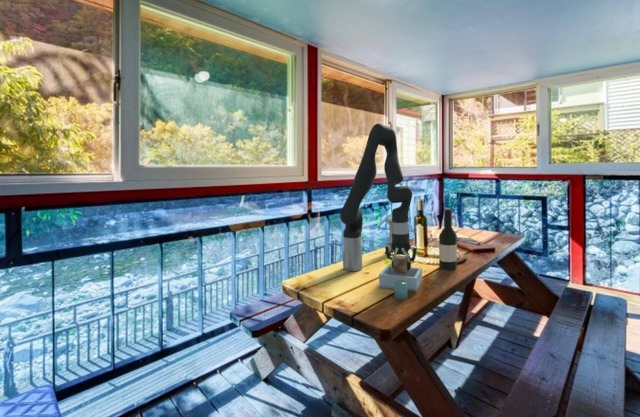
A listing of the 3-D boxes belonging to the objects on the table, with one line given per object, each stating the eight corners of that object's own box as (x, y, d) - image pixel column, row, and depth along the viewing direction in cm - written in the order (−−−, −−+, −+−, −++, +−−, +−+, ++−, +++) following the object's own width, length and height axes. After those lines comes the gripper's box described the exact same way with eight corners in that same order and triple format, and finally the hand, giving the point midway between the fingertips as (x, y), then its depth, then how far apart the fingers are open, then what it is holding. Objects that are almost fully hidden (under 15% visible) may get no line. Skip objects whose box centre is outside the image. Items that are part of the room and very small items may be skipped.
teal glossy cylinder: (393, 298, 136) (393, 284, 135) (396, 293, 140) (396, 280, 139) (406, 300, 134) (405, 285, 133) (408, 295, 138) (408, 281, 137)
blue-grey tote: (379, 287, 148) (379, 274, 147) (387, 277, 160) (387, 265, 160) (416, 292, 141) (416, 278, 140) (422, 281, 153) (422, 268, 153)
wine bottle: (458, 270, 165) (458, 209, 161) (440, 270, 167) (440, 210, 163) (455, 265, 173) (455, 207, 169) (438, 265, 175) (437, 207, 171)
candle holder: (388, 255, 197) (387, 221, 195) (382, 252, 206) (381, 219, 203) (402, 254, 199) (401, 220, 196) (396, 250, 207) (395, 218, 205)
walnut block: (393, 273, 148) (393, 259, 147) (396, 268, 154) (396, 255, 154) (406, 274, 146) (405, 260, 145) (409, 269, 152) (408, 256, 151)
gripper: (382, 233, 148) (383, 270, 150) (415, 234, 141) (416, 273, 144) (386, 229, 154) (387, 265, 156) (418, 230, 148) (419, 268, 150)
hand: (401, 269), depth 150 cm, fingers closed on walnut block, 5 cm apart
